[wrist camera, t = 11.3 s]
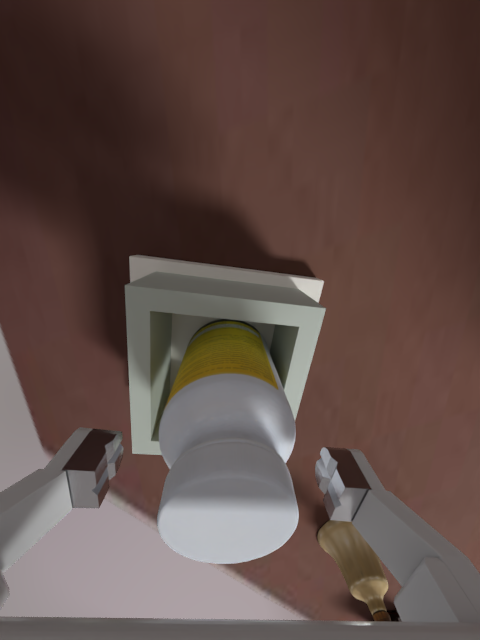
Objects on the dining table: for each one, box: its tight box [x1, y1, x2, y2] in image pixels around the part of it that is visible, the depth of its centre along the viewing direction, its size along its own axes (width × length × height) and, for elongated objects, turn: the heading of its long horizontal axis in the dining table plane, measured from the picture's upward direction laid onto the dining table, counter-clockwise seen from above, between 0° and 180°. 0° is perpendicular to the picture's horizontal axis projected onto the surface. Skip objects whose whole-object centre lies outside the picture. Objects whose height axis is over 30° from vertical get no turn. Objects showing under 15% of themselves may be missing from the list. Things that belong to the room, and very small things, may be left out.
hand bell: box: [317, 520, 391, 622], centre depth 23 cm, size 8×8×16 cm
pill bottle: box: [157, 318, 299, 564], centre depth 13 cm, size 6×6×12 cm
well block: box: [125, 255, 326, 455], centre depth 16 cm, size 14×13×6 cm
